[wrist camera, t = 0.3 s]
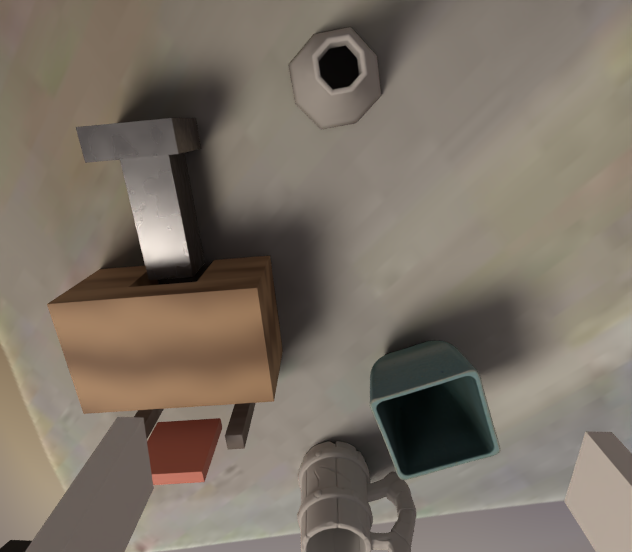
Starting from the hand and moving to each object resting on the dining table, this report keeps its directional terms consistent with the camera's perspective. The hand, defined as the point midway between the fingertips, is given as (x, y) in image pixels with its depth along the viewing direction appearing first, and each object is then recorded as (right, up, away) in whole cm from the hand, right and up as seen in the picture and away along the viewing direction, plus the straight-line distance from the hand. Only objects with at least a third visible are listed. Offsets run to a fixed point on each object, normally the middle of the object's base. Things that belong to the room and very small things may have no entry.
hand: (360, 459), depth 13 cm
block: (-13, 0, +29) cm, 31 cm away
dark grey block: (-14, +12, +24) cm, 31 cm away
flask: (0, +21, +21) cm, 30 cm away
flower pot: (+9, -4, +30) cm, 31 cm away
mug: (+3, -15, +34) cm, 38 cm away
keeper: (-12, -8, +25) cm, 29 cm away
